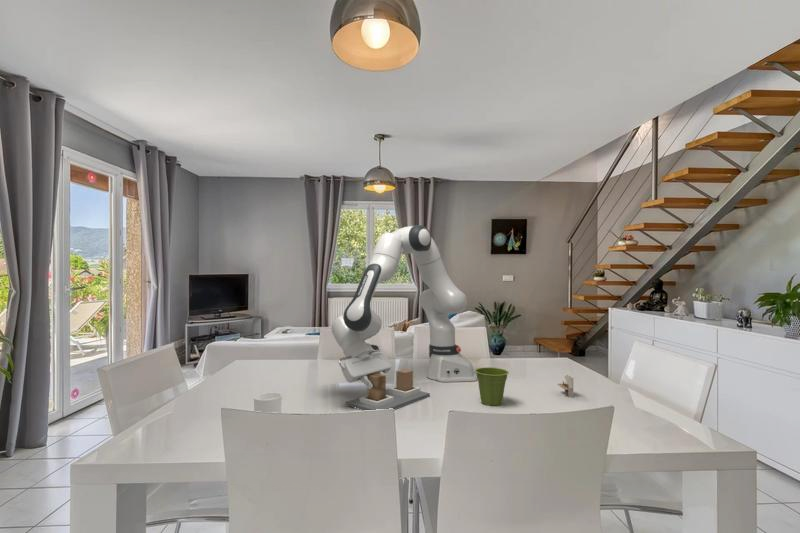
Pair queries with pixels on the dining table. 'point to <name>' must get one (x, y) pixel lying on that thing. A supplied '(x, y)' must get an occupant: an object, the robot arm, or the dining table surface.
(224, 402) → the dining table surface
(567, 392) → the architectural model
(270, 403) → the white cup
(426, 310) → the robot arm
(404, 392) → the baseplate
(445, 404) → the dining table surface
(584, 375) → the dining table surface
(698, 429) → the dining table surface
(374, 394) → the walnut block
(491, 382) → the plant pot
